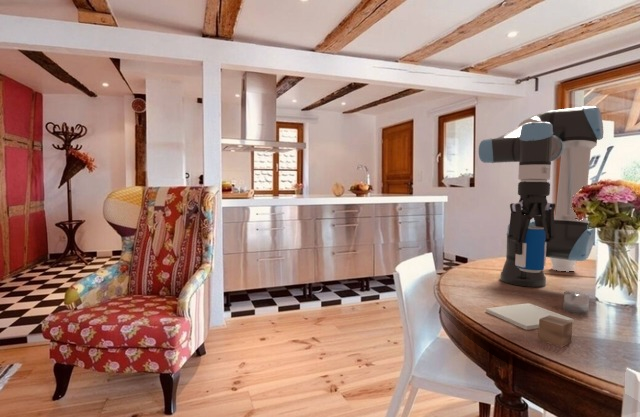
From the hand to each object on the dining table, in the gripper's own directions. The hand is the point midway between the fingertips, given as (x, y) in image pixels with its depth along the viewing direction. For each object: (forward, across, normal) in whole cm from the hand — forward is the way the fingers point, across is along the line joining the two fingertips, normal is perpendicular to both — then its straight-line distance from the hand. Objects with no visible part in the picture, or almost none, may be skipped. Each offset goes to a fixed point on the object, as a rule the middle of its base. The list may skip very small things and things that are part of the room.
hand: (530, 265), depth 102 cm
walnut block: (+15, -7, -14) cm, 21 cm away
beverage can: (+2, 0, 0) cm, 2 cm away
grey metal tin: (+15, +18, 0) cm, 23 cm away
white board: (+15, 0, 0) cm, 15 cm away
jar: (+15, +63, +40) cm, 76 cm away
